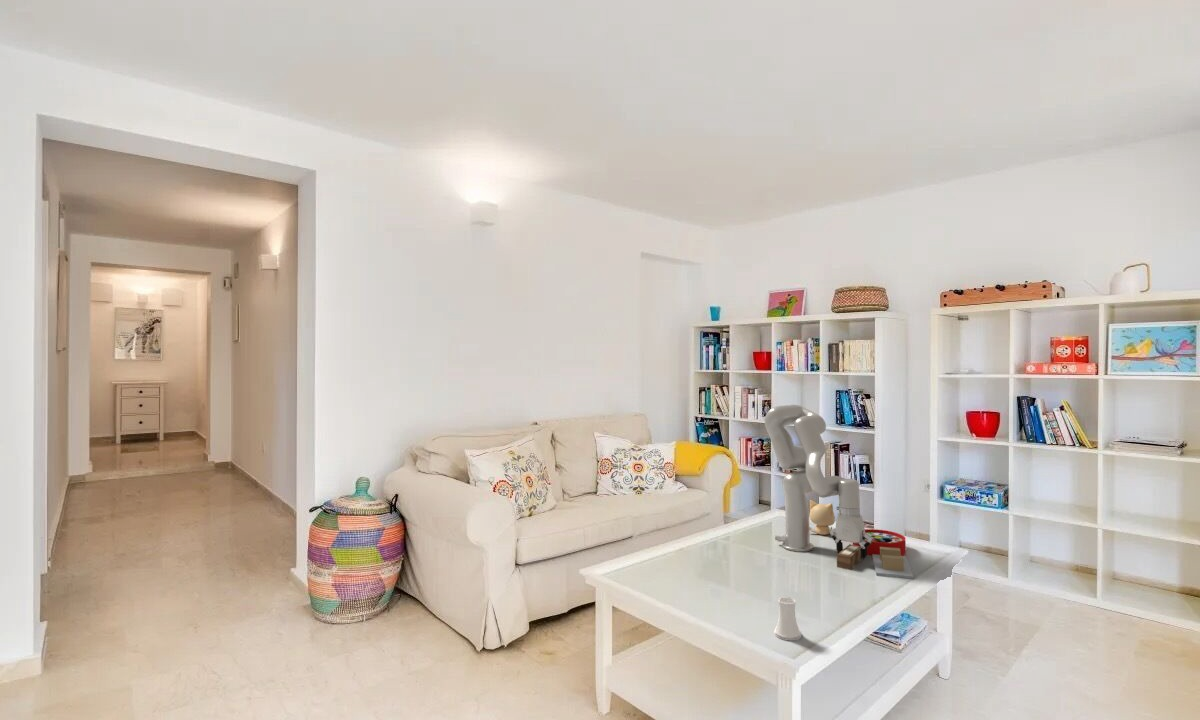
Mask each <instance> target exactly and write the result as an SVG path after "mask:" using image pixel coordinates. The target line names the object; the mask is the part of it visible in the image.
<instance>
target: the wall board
mask: <svg viewBox="0 0 1200 720" xmlns="http://www.w3.org/2000/svg"><path fill="white" fill-rule="evenodd" d="M871 557H872V561H873V567H874V570H875V575H876V576H879V577H888V578H889V577H890V578H897V579H898V578H900V579H910V580H913V579H914V575H913V573H912V570H911V567H910V565H909V562H908V559H907V557H906V556H904V555H902V556H901V551H900V548H888V547H880V555H876V554H872V556H871ZM912 578H913V579H912Z"/></svg>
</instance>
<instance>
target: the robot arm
mask: <svg viewBox="0 0 1200 720" xmlns="http://www.w3.org/2000/svg"><path fill="white" fill-rule="evenodd" d="M792 425H793V428H794V431H795V433H796V436H797V438H798V440H799V442H800V445H795V444H794V441H793V438H792V436H791V434H790V433H789V431H788V430H787V429H786V428H785V426H792ZM764 427H765V430H766V432H767V434H768V436H769V439H770V442H771V443H772V448H773V450H774V454H775V456H776V460H777V462H778V465H779V466H780V468H781V469H783V470H786V471H790V470H796V471H793V472H790V473H788V474H786V475H785V476H784V477H783V479H782V483H781V484H782V491H783V495H784V506H785V507H784V509H785V511H784V512H785V534H784V535H775V536H774V540H775V541H777V542H782V544H781V546H782V548H784V549H786V550H788V551H792V552H803V553H804V552H810V551H813V550H814V544H813V543H811V541H810V540H811V539H810V536H811V535H810V530H809V527H810V503H809V502H808V499H807V497H806V494H811V493H814V494H815V495H816V496H817V497H819V498H822V499H823V498H824V499H825V498H828V497H829V498H830V497H834V496H838V506H836V510H837V511H838V513H837V515H836V518H835V528H832V530H830V531H829V532H830V533H829V534H830V536H831V538H832V540H833V541H834V543H835V544H836V545H835V547H836V553H837V554H838V553H840V552H841V551H842V550H843V549H844V546H843V542H848V543H851V544H853V543H859V544H860V546H861V547H862V548H861V559H862V560H864V559H867V557H868V555H867V547H868V546H870V545H871V543H872V541H873V537H871V536H870V535H868V534H867V533H866V532H865V529H866V528H865V523H864V518H863V516H862V515H861V501H860V485H859V484H860V483H859V481H858V480H856V479H854V478H845V477H843V476H838V475H830V476H826V477H825V476H824V474H823V472H822V469H821V461H822V459H823V456H824V455H825V454H826V453H827V447H826V444H825V442H824V440H823V438H822V436H821V435H822V434H823V433H825V432H826V429H827V424H826V421H825V420H824V418H823V417H822V416H820V415H819V414H817V413H816V412H814V411H811V410H810V409H808V408H806V407H803V406H801V405H798V404H790V405H789V404H788V405H778V406H777V405H776V406H774V407H772V408H770V409H769V410H767V412H766V415H765V418H764ZM865 538H867V539H868V541H867V543H866V542H865ZM842 541H843V542H842ZM837 554H836V555H837Z"/></svg>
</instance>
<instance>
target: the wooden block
mask: <svg viewBox="0 0 1200 720" xmlns="http://www.w3.org/2000/svg"><path fill="white" fill-rule="evenodd" d="M861 548H862V547H861V546H857V545H853V544H852V543H851V544H850V543H849V544H847V546H846V547H843V550H842V551H841V552H840V553H838V554H836V568H839V569H844V570H849V571H850V570H852V569H853V568H854V567H856V566H857V564H859V563H860V562H861V561H862V560H863V559H861Z"/></svg>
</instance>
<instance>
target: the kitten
mask: <svg viewBox="0 0 1200 720" xmlns="http://www.w3.org/2000/svg"><path fill="white" fill-rule="evenodd" d="M835 517H836V516H835V513H834V506H833V503H832V502H830V503H827V504H825V503H817V502H815V500H812V499H810V500H809V521H811V523H813V524H815V527H814V528H812V527H811V526H809V532H810V533H811V532H812V533H814V534H818V535H822V536H826V535H829V534H830V532H829V531H830V530H832V529H833V526H832V525H834V523H836V518H835ZM829 526H831V527H829Z"/></svg>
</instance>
